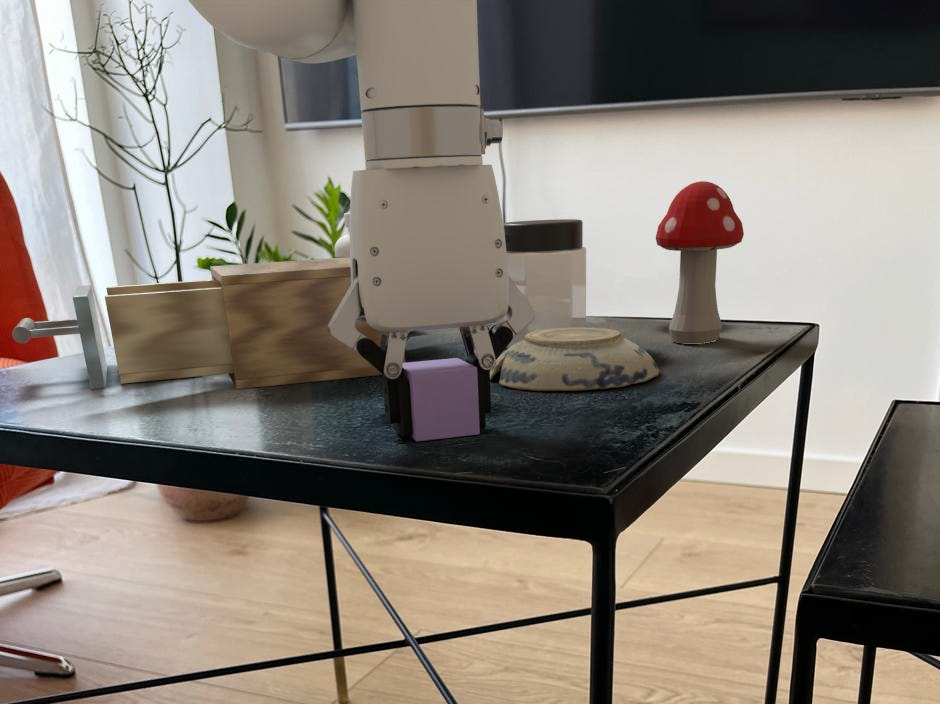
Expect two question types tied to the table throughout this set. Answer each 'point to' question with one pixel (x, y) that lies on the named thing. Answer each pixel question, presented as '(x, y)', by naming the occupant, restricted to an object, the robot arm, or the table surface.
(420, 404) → the cube
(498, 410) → the table surface
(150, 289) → the drawer
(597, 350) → the decorative bowl
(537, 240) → the jar
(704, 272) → the decorative mushroom
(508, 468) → the table surface
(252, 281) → the cabinet
